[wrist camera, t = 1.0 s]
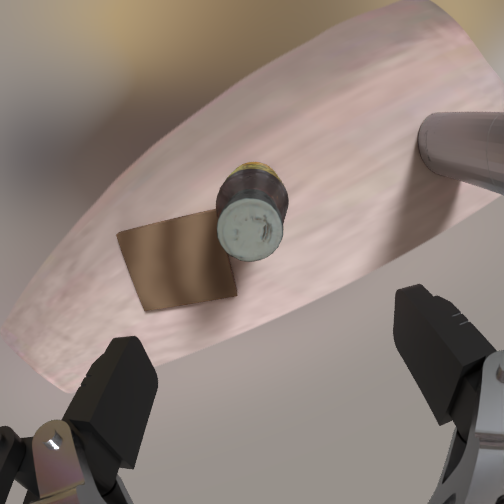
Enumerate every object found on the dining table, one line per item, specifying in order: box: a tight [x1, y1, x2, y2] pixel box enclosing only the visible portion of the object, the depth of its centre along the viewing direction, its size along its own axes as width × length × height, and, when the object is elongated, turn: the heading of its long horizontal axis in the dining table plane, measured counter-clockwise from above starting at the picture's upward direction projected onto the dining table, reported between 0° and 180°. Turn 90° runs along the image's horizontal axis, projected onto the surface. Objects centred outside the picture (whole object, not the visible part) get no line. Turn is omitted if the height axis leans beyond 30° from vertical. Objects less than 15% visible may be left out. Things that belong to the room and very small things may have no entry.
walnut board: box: [116, 209, 237, 311], centre depth 39 cm, size 14×12×1 cm
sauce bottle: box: [216, 162, 288, 262], centre depth 27 cm, size 6×6×20 cm
